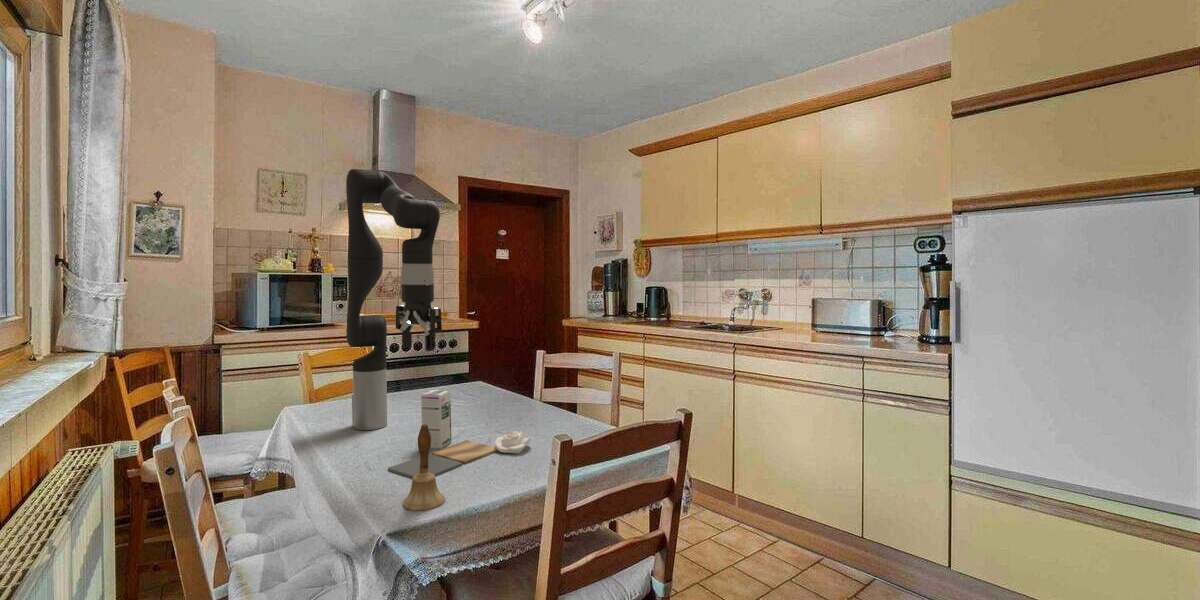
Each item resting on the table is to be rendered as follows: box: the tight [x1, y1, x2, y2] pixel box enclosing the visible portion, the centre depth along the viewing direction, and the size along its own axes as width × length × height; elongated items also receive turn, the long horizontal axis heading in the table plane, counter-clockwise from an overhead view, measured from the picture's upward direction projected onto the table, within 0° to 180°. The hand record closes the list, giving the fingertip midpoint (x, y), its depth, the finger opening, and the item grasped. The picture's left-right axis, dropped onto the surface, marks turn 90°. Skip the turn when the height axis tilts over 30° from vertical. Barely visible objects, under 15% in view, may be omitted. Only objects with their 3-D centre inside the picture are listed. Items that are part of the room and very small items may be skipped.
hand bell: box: [402, 424, 446, 511], centre depth 113 cm, size 8×8×16 cm
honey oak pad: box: [431, 439, 499, 465], centre depth 143 cm, size 12×12×1 cm
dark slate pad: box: [387, 453, 463, 479], centre depth 132 cm, size 12×12×1 cm
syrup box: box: [420, 389, 453, 450], centre depth 148 cm, size 6×6×14 cm
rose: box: [493, 429, 532, 454], centre depth 146 cm, size 10×4×10 cm
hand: (418, 348), depth 135 cm, fingers open, 8 cm apart
